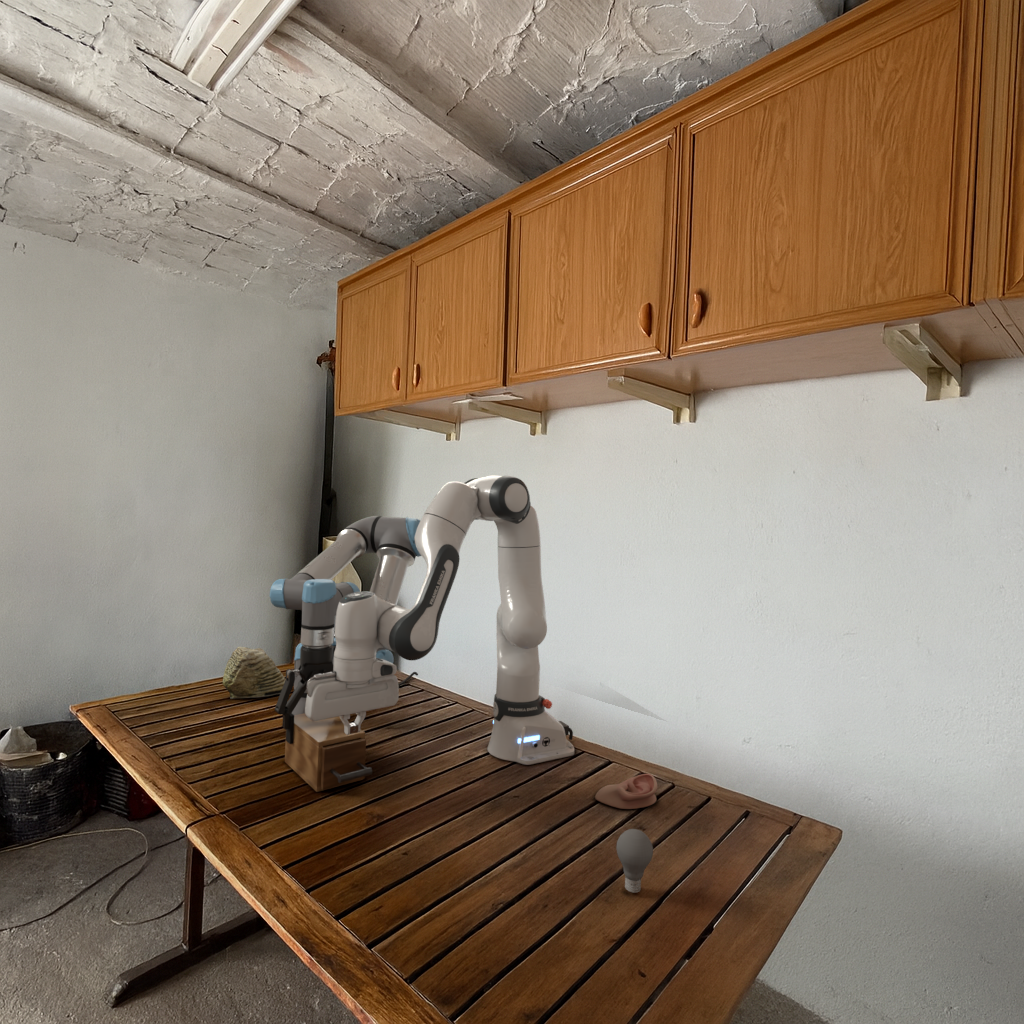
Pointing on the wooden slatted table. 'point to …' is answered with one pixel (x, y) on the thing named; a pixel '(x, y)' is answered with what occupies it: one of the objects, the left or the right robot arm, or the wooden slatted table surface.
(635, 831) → the light bulb
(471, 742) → the wooden slatted table surface
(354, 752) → the drawer
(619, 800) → the anatomical model
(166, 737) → the wooden slatted table surface
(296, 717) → the cabinet
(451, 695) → the wooden slatted table surface
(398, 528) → the left robot arm
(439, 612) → the right robot arm
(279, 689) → the fossil
